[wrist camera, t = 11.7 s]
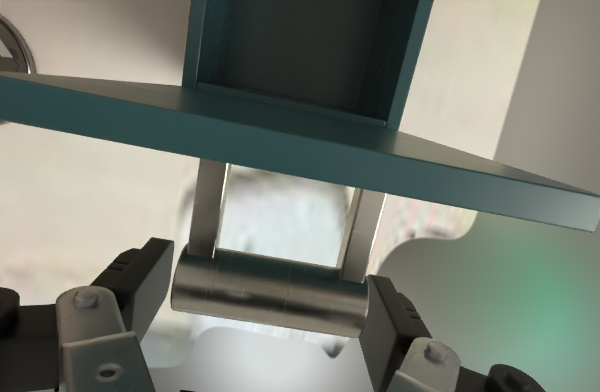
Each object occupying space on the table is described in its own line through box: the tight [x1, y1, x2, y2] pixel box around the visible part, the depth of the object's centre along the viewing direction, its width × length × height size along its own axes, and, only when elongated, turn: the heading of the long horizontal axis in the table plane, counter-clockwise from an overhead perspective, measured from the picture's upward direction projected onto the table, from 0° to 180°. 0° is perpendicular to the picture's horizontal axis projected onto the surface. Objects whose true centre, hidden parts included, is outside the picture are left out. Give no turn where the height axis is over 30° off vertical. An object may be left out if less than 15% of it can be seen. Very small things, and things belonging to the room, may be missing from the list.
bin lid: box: [0, 71, 600, 338], centre depth 15 cm, size 14×13×5 cm
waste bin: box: [182, 0, 434, 131], centre depth 25 cm, size 14×13×11 cm
